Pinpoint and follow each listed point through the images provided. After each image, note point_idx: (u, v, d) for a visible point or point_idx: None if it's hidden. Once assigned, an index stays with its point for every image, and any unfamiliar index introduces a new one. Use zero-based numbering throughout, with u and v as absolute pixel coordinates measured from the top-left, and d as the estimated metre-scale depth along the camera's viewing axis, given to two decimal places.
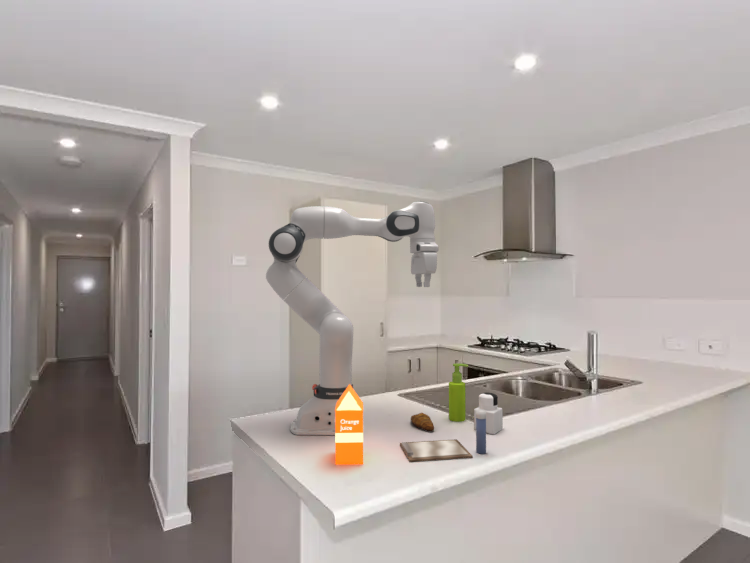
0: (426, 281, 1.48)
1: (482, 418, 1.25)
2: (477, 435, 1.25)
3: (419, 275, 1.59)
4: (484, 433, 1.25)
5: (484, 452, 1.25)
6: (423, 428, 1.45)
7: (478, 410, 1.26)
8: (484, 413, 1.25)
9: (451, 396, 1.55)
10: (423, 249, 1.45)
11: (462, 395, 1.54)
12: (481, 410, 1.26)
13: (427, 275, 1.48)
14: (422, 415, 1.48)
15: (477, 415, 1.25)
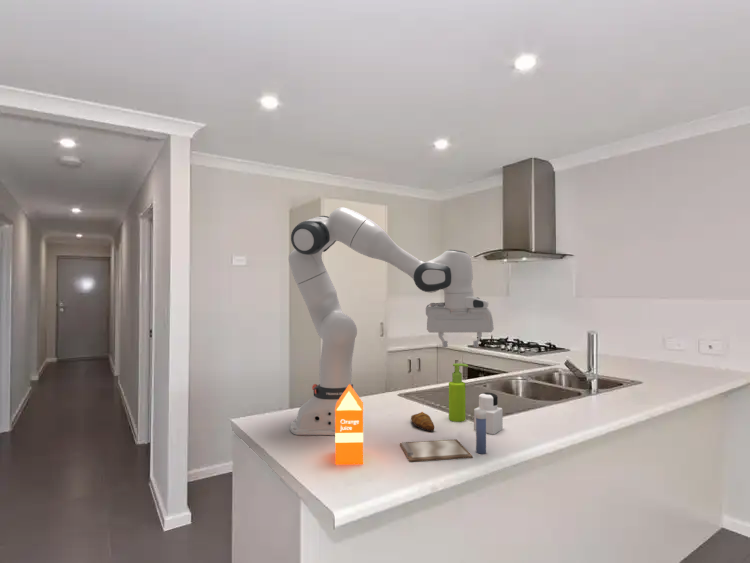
0: (478, 340, 1.33)
1: (482, 418, 1.25)
2: (477, 435, 1.25)
3: (443, 333, 1.36)
4: (484, 433, 1.25)
5: (484, 452, 1.25)
6: (423, 428, 1.45)
7: (478, 410, 1.26)
8: (484, 413, 1.25)
9: (451, 396, 1.55)
10: (487, 306, 1.30)
11: (462, 395, 1.54)
12: (481, 410, 1.26)
13: (481, 334, 1.33)
14: (422, 415, 1.48)
15: (477, 415, 1.25)
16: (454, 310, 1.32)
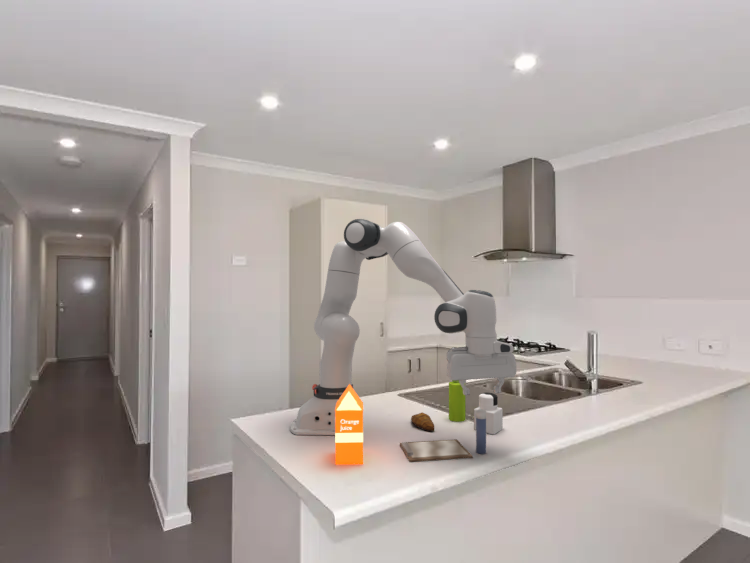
0: None
1: (482, 418, 1.25)
2: (477, 435, 1.25)
3: None
4: (484, 433, 1.25)
5: (484, 452, 1.25)
6: (423, 428, 1.45)
7: (478, 410, 1.26)
8: (484, 413, 1.25)
9: (451, 396, 1.55)
10: None
11: (462, 395, 1.54)
12: (481, 410, 1.26)
13: None
14: (422, 415, 1.48)
15: (477, 415, 1.25)
16: (481, 355, 1.23)
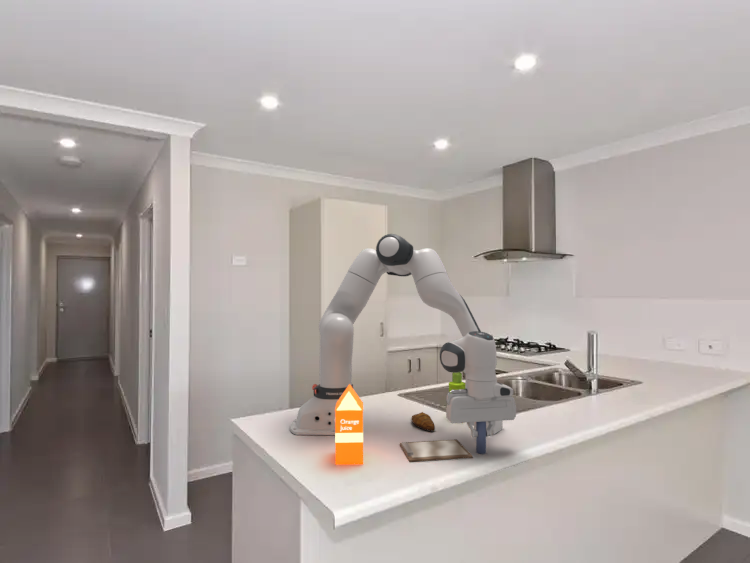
0: None
1: None
2: None
3: None
4: (484, 433, 1.25)
5: (484, 452, 1.25)
6: (424, 428, 1.45)
7: None
8: None
9: None
10: None
11: None
12: None
13: None
14: (423, 415, 1.48)
15: None
16: (480, 399, 1.23)
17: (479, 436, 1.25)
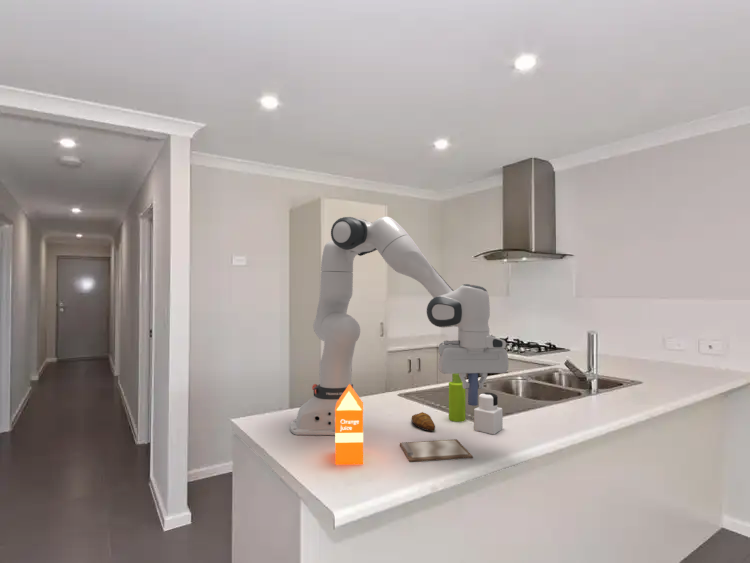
0: None
1: None
2: None
3: None
4: (476, 385, 1.25)
5: (476, 404, 1.25)
6: (424, 428, 1.45)
7: None
8: None
9: (451, 396, 1.55)
10: None
11: (462, 395, 1.54)
12: None
13: None
14: (423, 415, 1.48)
15: None
16: (473, 349, 1.23)
17: (471, 388, 1.25)
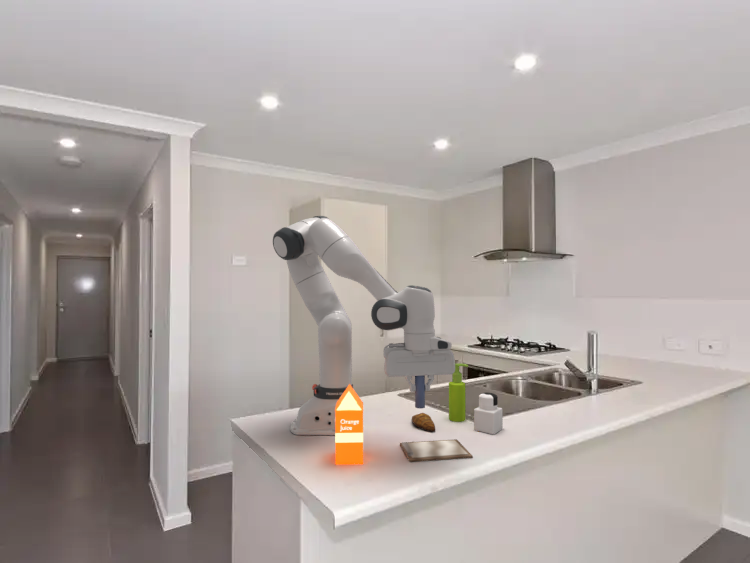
0: None
1: None
2: None
3: None
4: (422, 387, 1.23)
5: (422, 406, 1.23)
6: (424, 428, 1.45)
7: None
8: None
9: (451, 396, 1.55)
10: None
11: (462, 395, 1.54)
12: None
13: None
14: (423, 415, 1.48)
15: None
16: (417, 352, 1.21)
17: (417, 390, 1.23)
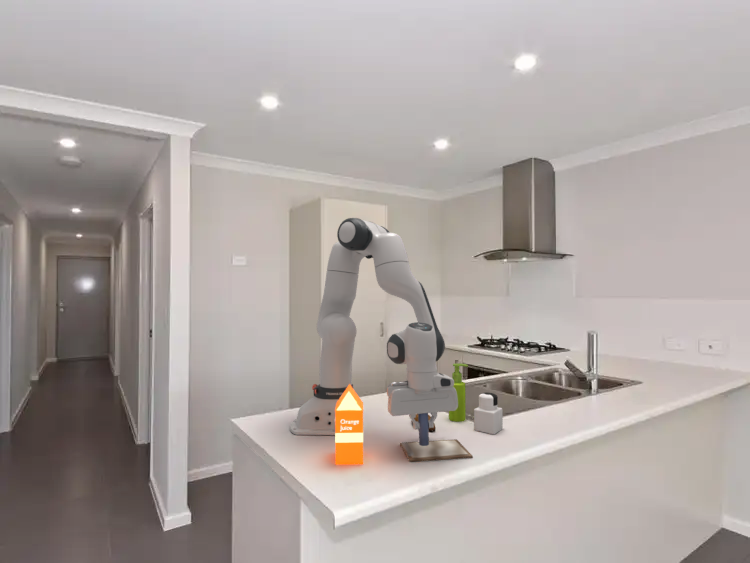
0: None
1: None
2: None
3: None
4: (426, 425, 1.24)
5: (426, 444, 1.24)
6: None
7: None
8: None
9: None
10: None
11: (462, 395, 1.54)
12: None
13: None
14: None
15: None
16: (421, 390, 1.22)
17: (421, 428, 1.24)
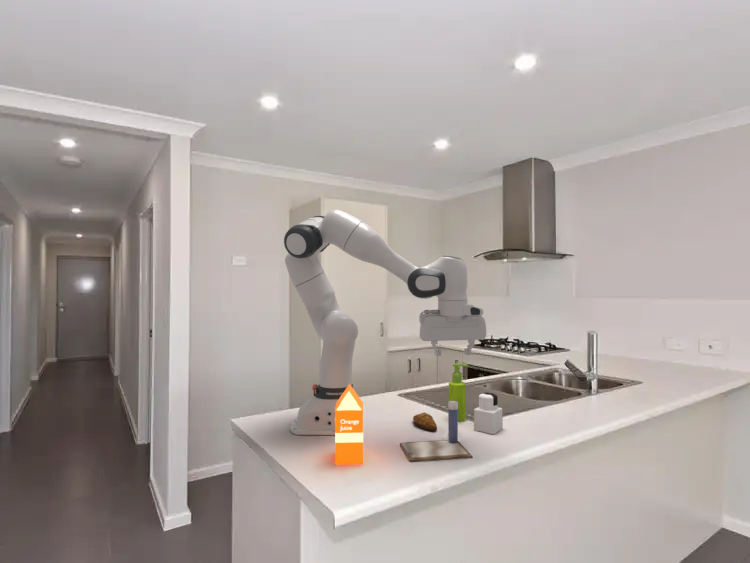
0: None
1: (454, 409, 1.31)
2: (449, 425, 1.32)
3: None
4: (456, 423, 1.31)
5: (455, 441, 1.31)
6: (426, 428, 1.45)
7: (450, 401, 1.32)
8: (456, 404, 1.31)
9: (451, 396, 1.55)
10: None
11: (462, 395, 1.54)
12: (453, 401, 1.32)
13: None
14: (425, 415, 1.48)
15: (449, 406, 1.32)
16: (451, 317, 1.29)
17: (451, 426, 1.31)
